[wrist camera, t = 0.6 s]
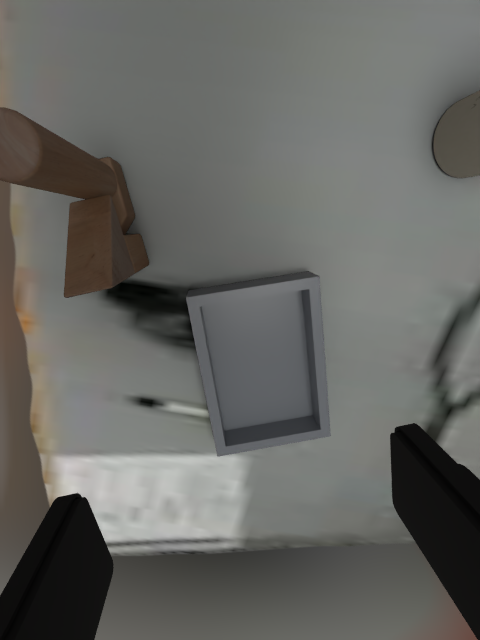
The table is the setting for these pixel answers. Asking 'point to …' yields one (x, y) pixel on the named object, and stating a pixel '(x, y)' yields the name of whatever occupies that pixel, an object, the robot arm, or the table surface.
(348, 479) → the table surface
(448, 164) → the travel mug
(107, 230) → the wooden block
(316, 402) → the tray
